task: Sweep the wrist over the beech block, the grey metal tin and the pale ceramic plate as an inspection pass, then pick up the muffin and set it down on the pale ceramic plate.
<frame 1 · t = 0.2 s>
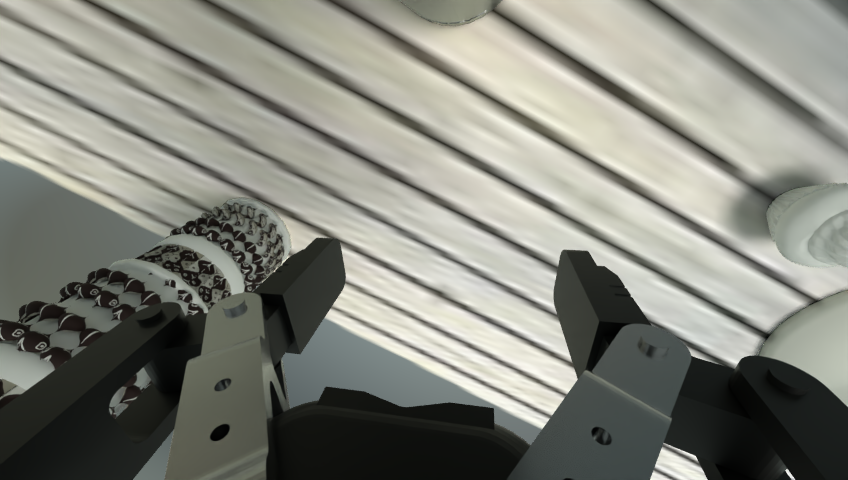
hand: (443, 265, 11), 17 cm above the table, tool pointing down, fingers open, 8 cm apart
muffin: (789, 206, 24), on the table
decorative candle: (256, 232, 34), on the table
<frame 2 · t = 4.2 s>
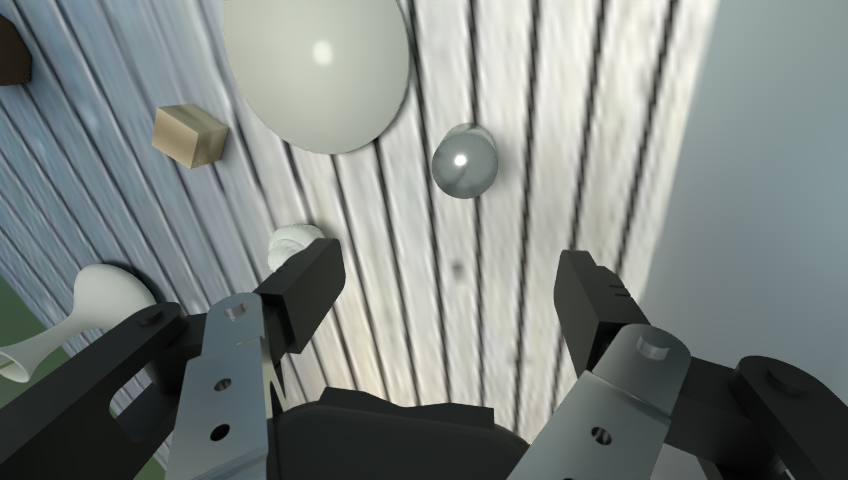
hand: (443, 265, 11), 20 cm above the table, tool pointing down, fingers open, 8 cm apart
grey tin: (467, 151, 29), on the table
flower in vase: (126, 288, 46), on the table
beer bottle: (1, 45, 32), on the table
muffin: (313, 236, 37), on the table
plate: (321, 58, 27), on the table
beech block: (207, 132, 33), on the table
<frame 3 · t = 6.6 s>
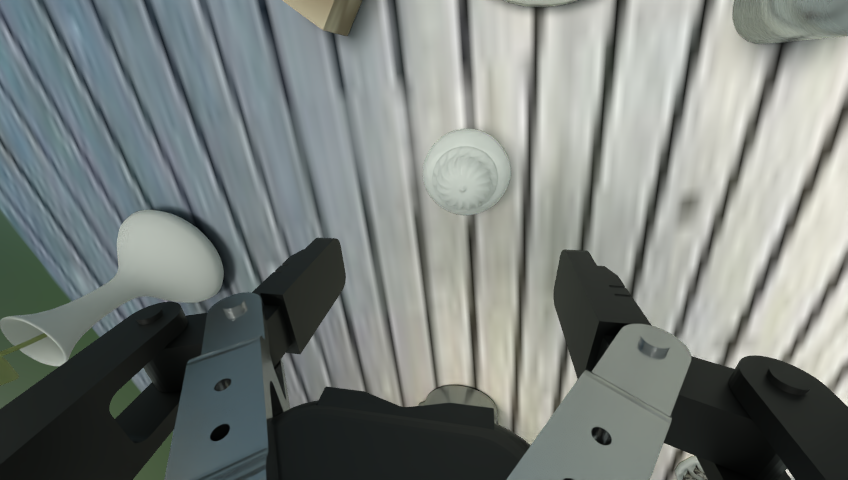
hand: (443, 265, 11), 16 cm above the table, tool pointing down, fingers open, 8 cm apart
flower in vase: (180, 247, 35), on the table
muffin: (468, 161, 25), on the table
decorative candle: (714, 470, 38), on the table
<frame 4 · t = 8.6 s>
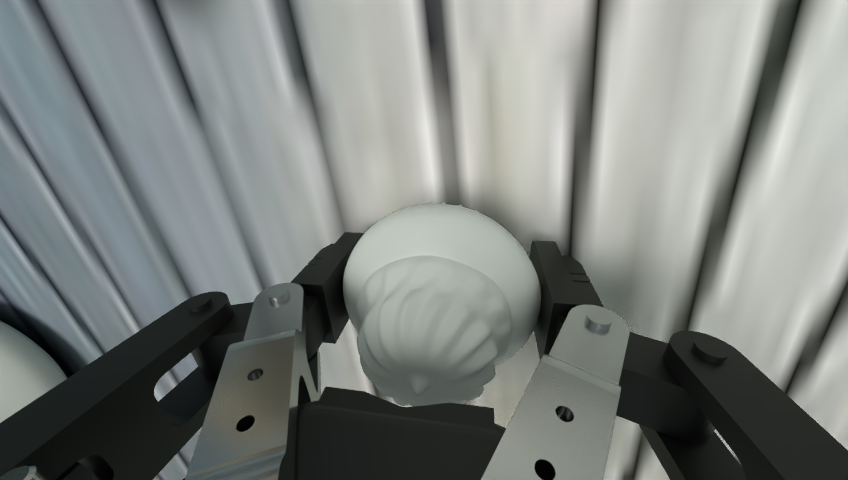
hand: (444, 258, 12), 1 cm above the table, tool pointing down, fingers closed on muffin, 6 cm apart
flower in vase: (13, 345, 23), on the table
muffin: (449, 243, 13), on the table, touching gripper
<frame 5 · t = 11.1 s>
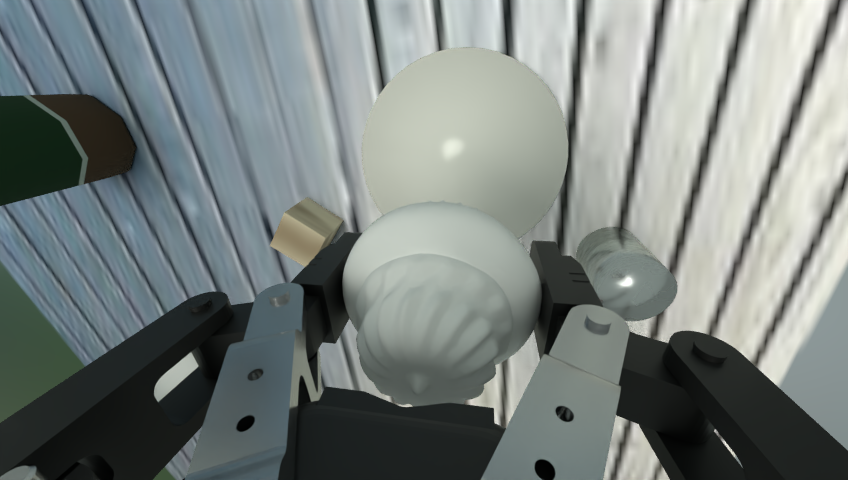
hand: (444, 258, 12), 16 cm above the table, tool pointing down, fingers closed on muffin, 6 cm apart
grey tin: (606, 252, 28), on the table
flower in vase: (200, 359, 45), on the table
beer bottle: (103, 135, 31), on the table
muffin: (449, 241, 13), point 15 cm above the table, touching gripper
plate: (460, 161, 26), on the table
beech block: (318, 223, 31), on the table
when the fingers open (4 cm above the table, at t = 13.9 s): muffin drops 1 cm, resting on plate.
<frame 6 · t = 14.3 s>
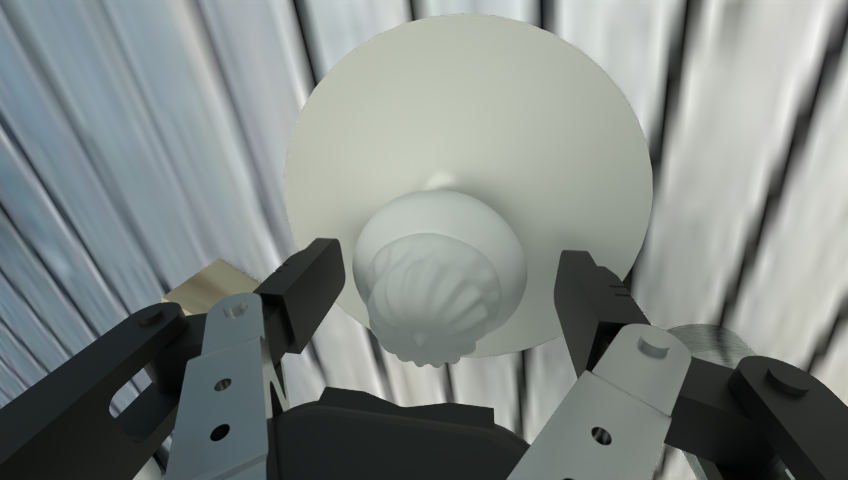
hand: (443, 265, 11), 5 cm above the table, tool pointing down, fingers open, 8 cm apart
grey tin: (689, 359, 17), on the table
flower in vase: (118, 439, 34), on the table
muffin: (447, 229, 14), point 1 cm above the table, touching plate
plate: (453, 216, 15), on the table
beech block: (240, 294, 21), on the table
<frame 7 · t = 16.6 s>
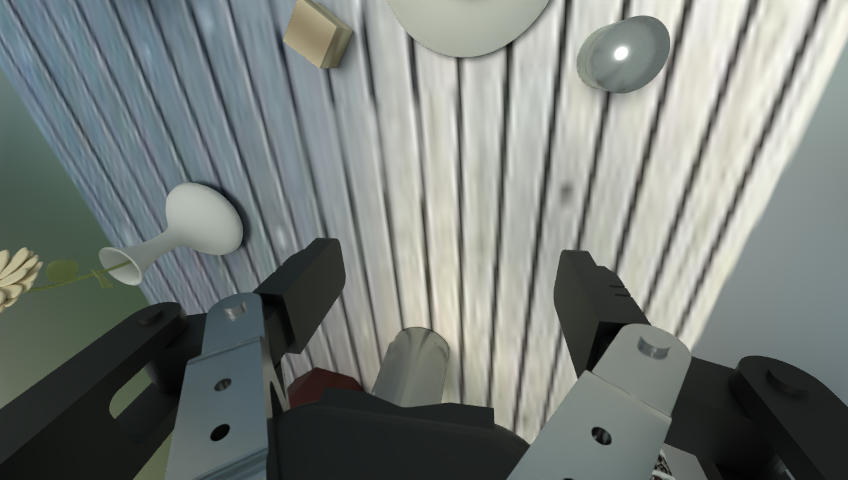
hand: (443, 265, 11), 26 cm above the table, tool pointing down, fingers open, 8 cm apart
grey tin: (606, 57, 29), on the table
bucket: (337, 396, 64), on the table
flower in vase: (210, 213, 47), on the table
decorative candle: (611, 399, 50), on the table
beech block: (328, 36, 32), on the table
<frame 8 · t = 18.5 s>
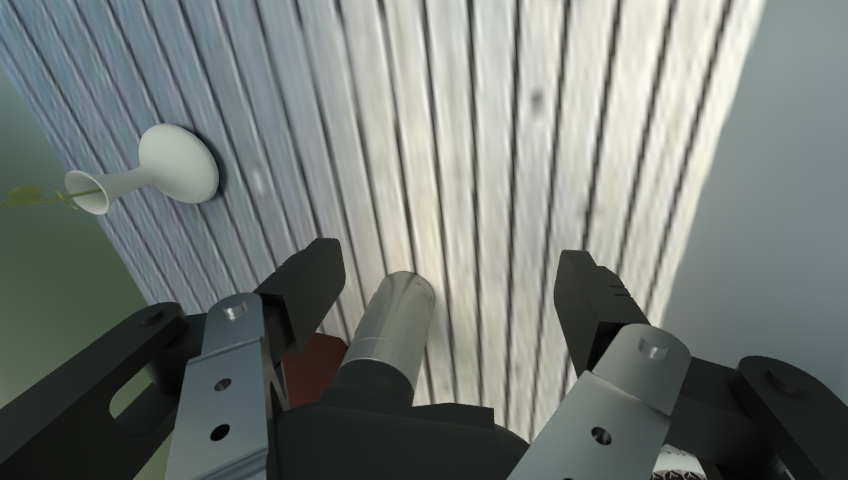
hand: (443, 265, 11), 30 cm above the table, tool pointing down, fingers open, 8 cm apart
bucket: (325, 362, 62), on the table
flower in vase: (186, 160, 46), on the table
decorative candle: (602, 336, 48), on the table
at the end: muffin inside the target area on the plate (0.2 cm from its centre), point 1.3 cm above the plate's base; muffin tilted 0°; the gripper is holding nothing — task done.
